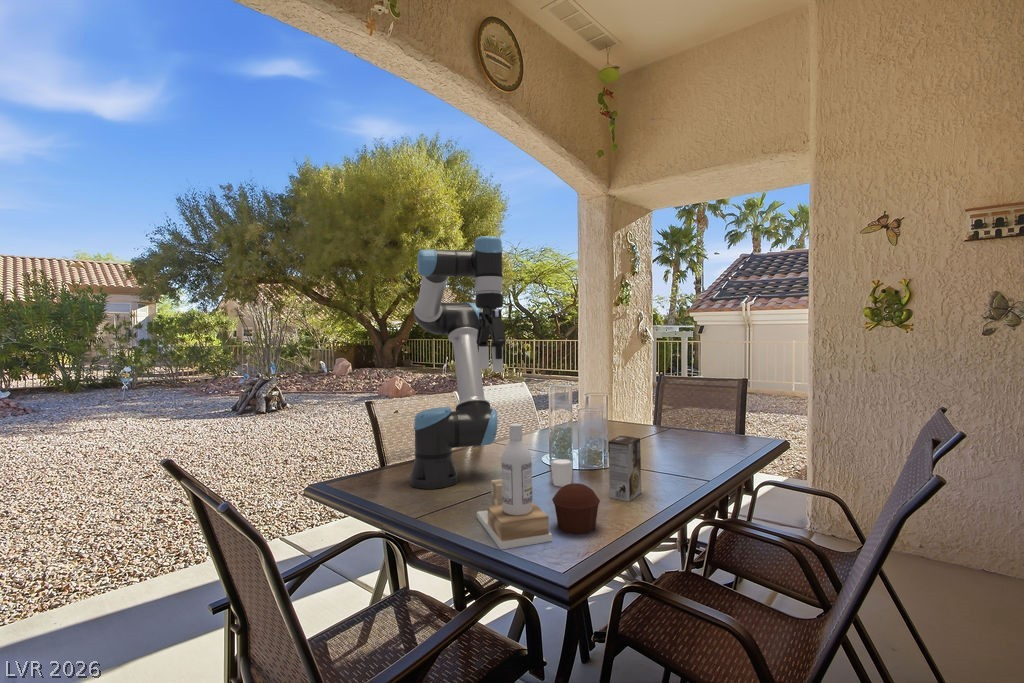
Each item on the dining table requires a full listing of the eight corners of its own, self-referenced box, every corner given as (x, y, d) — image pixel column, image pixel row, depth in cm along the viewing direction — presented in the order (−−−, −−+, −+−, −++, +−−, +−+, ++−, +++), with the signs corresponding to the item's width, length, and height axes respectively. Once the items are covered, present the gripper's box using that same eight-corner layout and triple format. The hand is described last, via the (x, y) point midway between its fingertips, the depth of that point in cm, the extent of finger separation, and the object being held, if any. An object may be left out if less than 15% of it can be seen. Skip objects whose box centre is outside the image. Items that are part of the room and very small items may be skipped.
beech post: (491, 511, 122) (491, 480, 122) (510, 509, 124) (509, 478, 124) (497, 518, 117) (496, 485, 117) (516, 515, 119) (516, 483, 119)
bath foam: (532, 505, 115) (530, 421, 115) (532, 516, 108) (531, 426, 108) (503, 506, 115) (501, 422, 115) (501, 516, 108) (500, 427, 108)
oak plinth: (487, 523, 115) (487, 506, 115) (531, 517, 118) (530, 500, 118) (501, 541, 104) (501, 523, 104) (548, 533, 108) (548, 516, 108)
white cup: (572, 480, 153) (572, 458, 153) (573, 487, 146) (573, 464, 146) (551, 480, 154) (550, 458, 154) (550, 487, 147) (550, 464, 147)
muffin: (561, 516, 123) (560, 476, 123) (604, 521, 118) (603, 480, 118) (546, 533, 112) (545, 490, 112) (593, 540, 107) (592, 495, 107)
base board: (477, 517, 122) (476, 511, 122) (521, 511, 126) (521, 505, 126) (500, 549, 104) (500, 542, 104) (551, 541, 107) (551, 534, 107)
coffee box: (621, 489, 143) (620, 435, 143) (642, 493, 139) (641, 437, 139) (608, 497, 136) (607, 440, 136) (630, 502, 132) (629, 443, 132)
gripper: (517, 288, 122) (518, 372, 122) (489, 297, 146) (491, 367, 146) (488, 288, 120) (490, 373, 120) (465, 297, 144) (466, 368, 144)
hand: (490, 370), depth 133 cm, fingers open, 13 cm apart
